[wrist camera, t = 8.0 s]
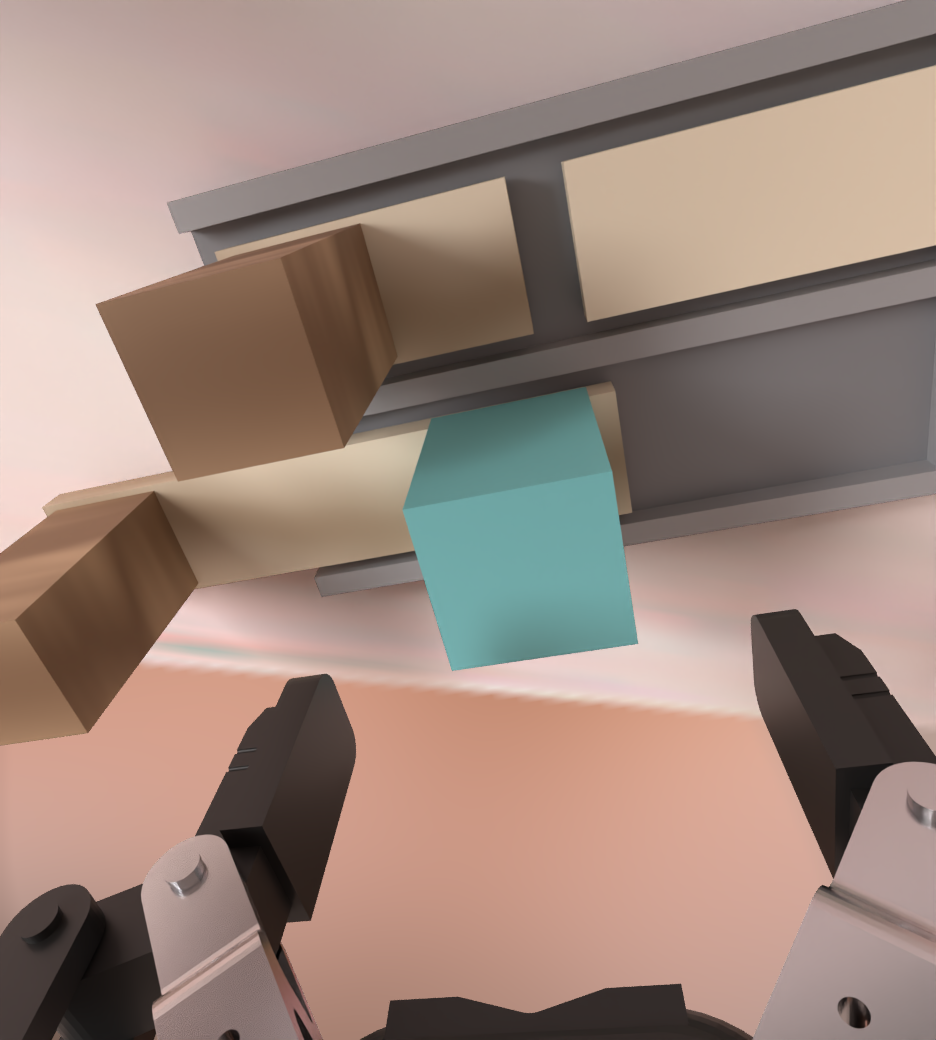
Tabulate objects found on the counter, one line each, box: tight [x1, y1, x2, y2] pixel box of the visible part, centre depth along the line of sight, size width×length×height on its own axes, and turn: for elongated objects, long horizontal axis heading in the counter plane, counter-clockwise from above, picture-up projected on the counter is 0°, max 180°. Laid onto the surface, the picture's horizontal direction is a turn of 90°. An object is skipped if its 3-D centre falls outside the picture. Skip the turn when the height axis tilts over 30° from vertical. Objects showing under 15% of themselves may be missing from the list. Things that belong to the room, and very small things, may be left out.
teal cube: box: [403, 387, 638, 671], centre depth 19 cm, size 5×5×6 cm
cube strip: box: [0, 381, 632, 746], centre depth 19 cm, size 4×19×8 cm, turn 103°
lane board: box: [167, 0, 936, 597], centre depth 20 cm, size 13×21×2 cm, turn 103°
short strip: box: [96, 176, 534, 482], centre depth 16 cm, size 4×8×8 cm, turn 103°
